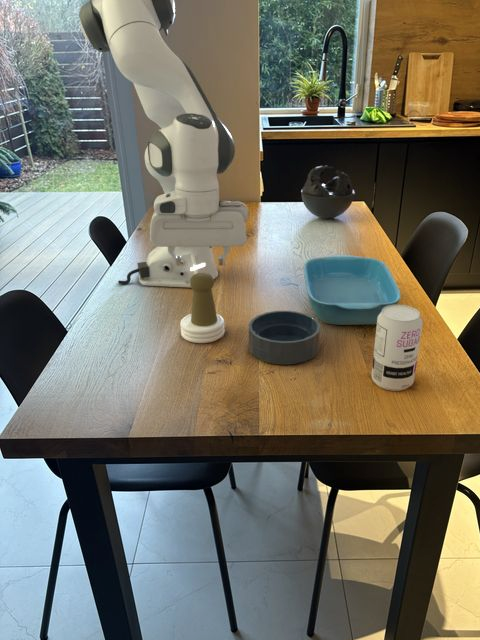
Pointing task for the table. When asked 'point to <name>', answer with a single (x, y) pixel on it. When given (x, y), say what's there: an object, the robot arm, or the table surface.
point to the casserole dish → (349, 289)
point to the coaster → (201, 330)
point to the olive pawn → (202, 300)
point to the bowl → (284, 337)
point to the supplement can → (396, 347)
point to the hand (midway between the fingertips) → (199, 264)
